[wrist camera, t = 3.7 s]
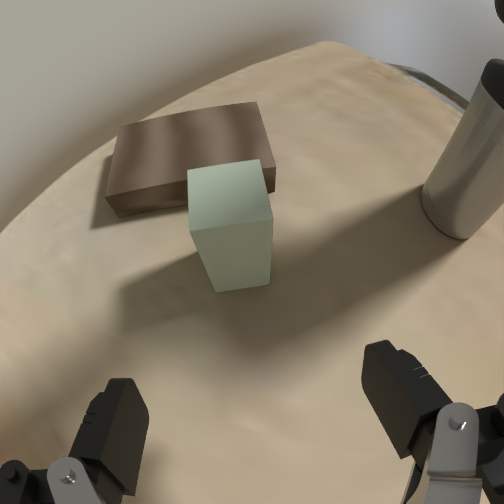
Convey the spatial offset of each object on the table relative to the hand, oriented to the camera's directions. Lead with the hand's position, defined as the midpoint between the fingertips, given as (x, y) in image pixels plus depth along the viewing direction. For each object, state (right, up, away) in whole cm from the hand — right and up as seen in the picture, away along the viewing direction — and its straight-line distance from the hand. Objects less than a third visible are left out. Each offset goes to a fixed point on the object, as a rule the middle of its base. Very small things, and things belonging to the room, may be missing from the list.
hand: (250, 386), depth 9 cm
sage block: (-1, +3, +19) cm, 19 cm away
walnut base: (-7, +15, +25) cm, 30 cm away
